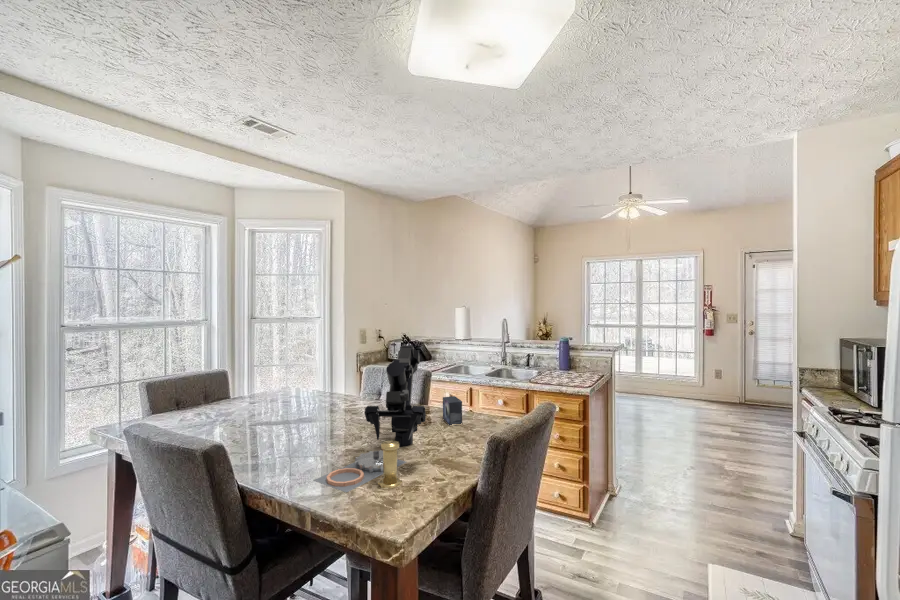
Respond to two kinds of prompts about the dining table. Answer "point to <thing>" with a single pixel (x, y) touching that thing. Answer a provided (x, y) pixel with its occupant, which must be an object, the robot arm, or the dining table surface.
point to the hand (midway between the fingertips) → (392, 439)
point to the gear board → (349, 477)
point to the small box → (452, 410)
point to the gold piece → (389, 465)
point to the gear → (370, 461)
